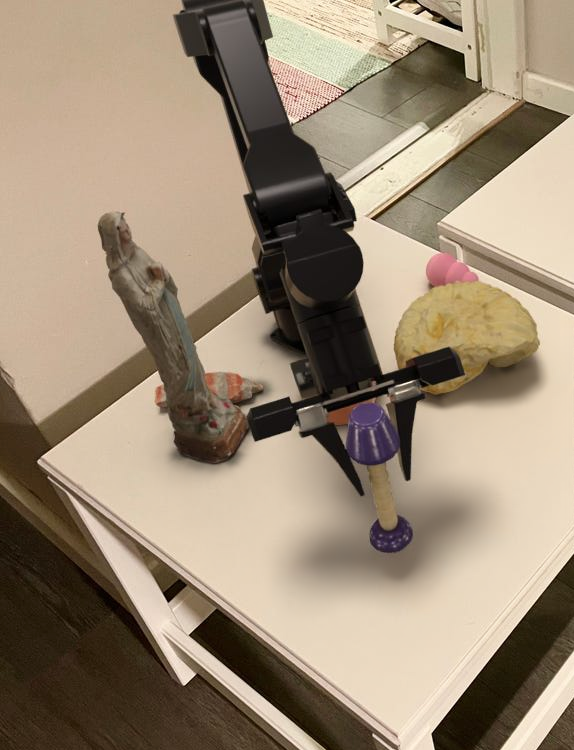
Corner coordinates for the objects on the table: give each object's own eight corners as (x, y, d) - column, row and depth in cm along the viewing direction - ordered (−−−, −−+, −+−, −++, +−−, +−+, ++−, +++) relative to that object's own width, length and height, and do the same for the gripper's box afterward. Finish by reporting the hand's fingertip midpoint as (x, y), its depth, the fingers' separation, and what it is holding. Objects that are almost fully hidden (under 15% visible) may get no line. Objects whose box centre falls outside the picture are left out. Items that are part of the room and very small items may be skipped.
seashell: (443, 330, 116) (368, 380, 106) (448, 252, 109) (368, 297, 99) (556, 377, 109) (487, 435, 99) (568, 297, 102) (495, 351, 92)
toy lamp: (361, 523, 88) (330, 405, 75) (405, 506, 89) (383, 386, 76) (378, 560, 85) (349, 444, 72) (423, 542, 86) (403, 424, 73)
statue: (227, 467, 100) (133, 239, 77) (169, 456, 102) (58, 229, 78) (255, 419, 104) (174, 189, 81) (199, 409, 106) (103, 181, 83)
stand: (294, 408, 105) (289, 393, 103) (337, 367, 109) (333, 352, 107) (347, 434, 102) (343, 419, 100) (389, 391, 106) (386, 375, 104)
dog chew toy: (432, 244, 114) (480, 267, 112) (443, 253, 118) (490, 274, 117) (417, 277, 115) (465, 300, 113) (429, 284, 119) (475, 306, 117)
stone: (150, 405, 104) (155, 372, 107) (157, 418, 106) (162, 385, 109) (256, 396, 104) (259, 363, 107) (262, 409, 106) (264, 377, 109)
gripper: (417, 297, 87) (465, 452, 89) (227, 354, 84) (282, 513, 86) (437, 280, 76) (492, 456, 78) (220, 344, 73) (283, 526, 75)
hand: (385, 488), depth 80 cm, fingers closed on toy lamp, 4 cm apart
